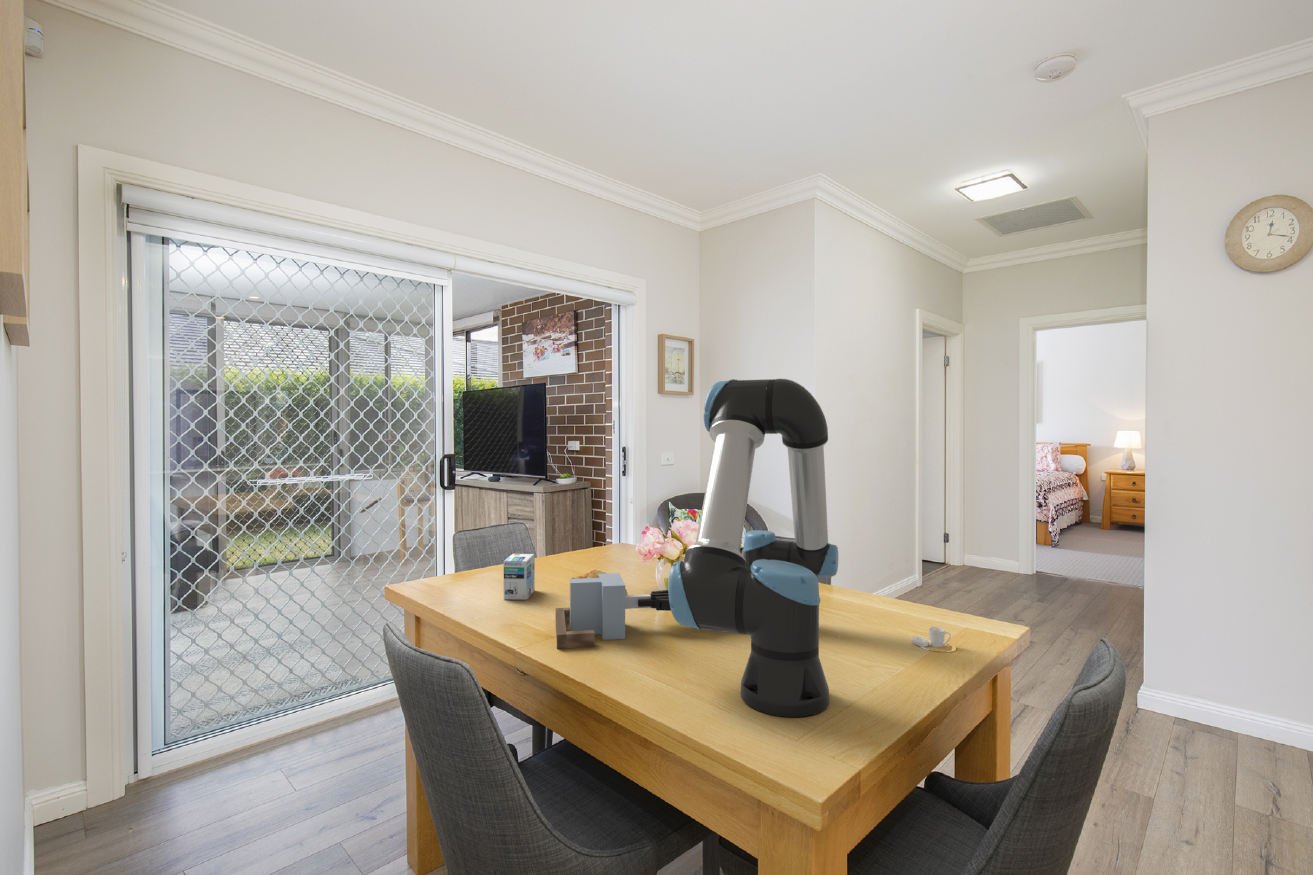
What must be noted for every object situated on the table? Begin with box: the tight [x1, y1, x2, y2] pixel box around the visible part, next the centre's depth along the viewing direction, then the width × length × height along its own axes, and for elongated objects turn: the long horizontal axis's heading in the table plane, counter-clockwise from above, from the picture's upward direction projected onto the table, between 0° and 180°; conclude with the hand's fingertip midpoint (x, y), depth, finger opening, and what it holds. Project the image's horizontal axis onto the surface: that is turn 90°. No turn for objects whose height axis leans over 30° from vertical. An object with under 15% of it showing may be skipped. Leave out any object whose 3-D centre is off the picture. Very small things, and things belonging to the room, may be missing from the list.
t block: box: [569, 572, 626, 641], centre depth 144 cm, size 12×12×12 cm
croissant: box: [571, 569, 629, 595], centre depth 177 cm, size 21×10×8 cm, turn 54°
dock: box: [554, 607, 596, 650], centre depth 143 cm, size 8×20×3 cm, turn 10°
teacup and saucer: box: [910, 626, 951, 651], centre depth 135 cm, size 9×8×4 cm
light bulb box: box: [503, 553, 536, 601], centre depth 175 cm, size 11×7×11 cm, turn 179°
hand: (623, 602), depth 145 cm, fingers closed
